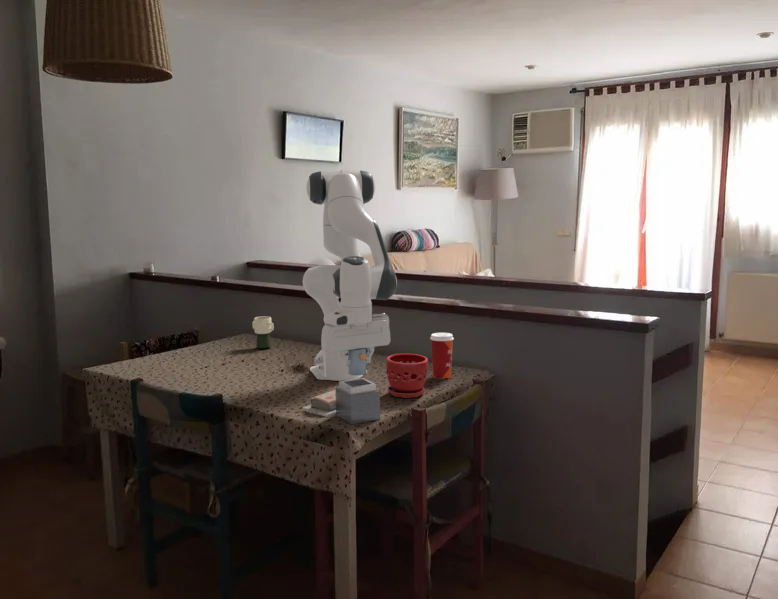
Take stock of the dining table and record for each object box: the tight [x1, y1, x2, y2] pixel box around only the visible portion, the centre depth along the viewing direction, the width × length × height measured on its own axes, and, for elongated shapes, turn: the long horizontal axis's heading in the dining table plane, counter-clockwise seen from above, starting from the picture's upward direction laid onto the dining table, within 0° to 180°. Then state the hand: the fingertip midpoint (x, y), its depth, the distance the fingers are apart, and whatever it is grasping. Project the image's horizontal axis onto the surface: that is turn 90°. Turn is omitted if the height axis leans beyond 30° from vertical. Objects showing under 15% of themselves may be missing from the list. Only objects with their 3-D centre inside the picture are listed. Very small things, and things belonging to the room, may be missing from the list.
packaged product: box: [302, 388, 336, 418], centre depth 201 cm, size 18×5×10 cm
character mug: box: [251, 315, 275, 349], centre depth 281 cm, size 11×7×13 cm, turn 62°
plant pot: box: [386, 353, 429, 399], centre depth 212 cm, size 13×13×12 cm
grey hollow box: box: [335, 377, 381, 425], centre depth 191 cm, size 10×9×10 cm
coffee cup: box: [429, 332, 455, 380], centre depth 232 cm, size 8×8×15 cm
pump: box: [348, 348, 367, 376], centre depth 188 cm, size 7×5×7 cm
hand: (357, 364), depth 189 cm, fingers closed on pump, 5 cm apart
